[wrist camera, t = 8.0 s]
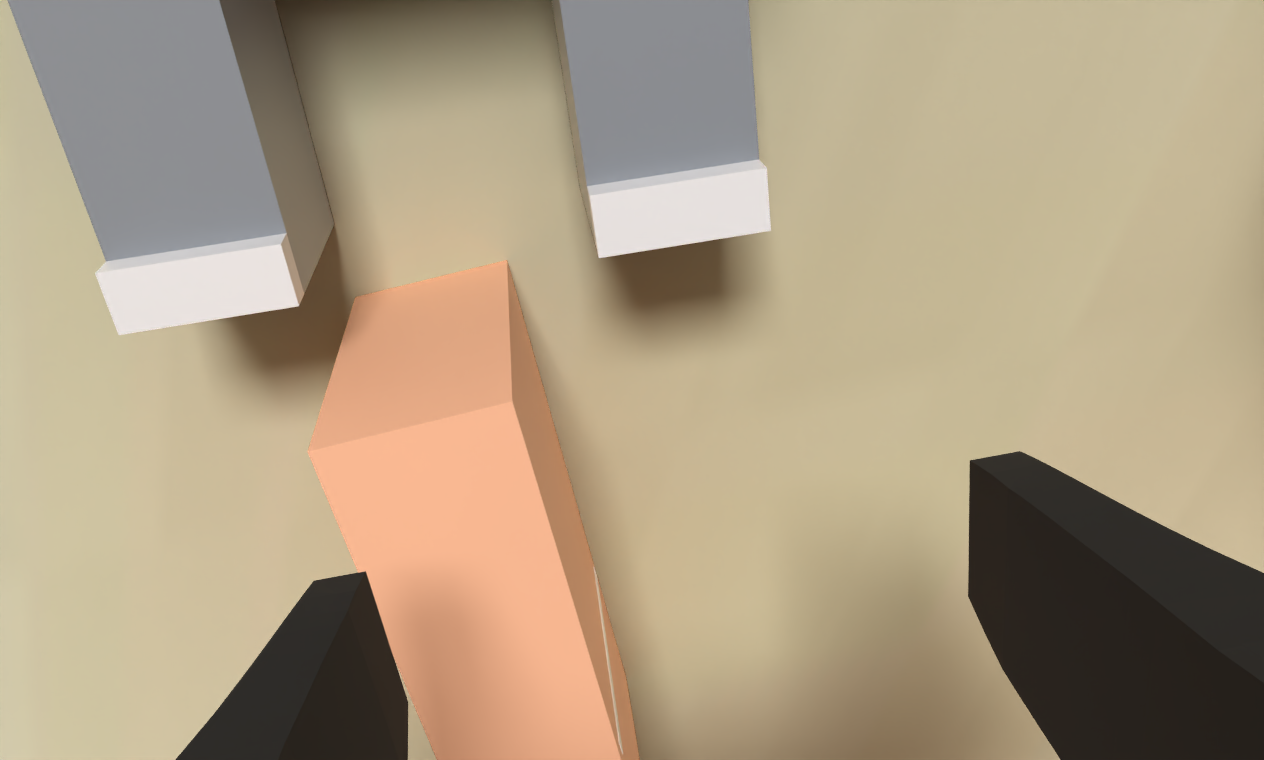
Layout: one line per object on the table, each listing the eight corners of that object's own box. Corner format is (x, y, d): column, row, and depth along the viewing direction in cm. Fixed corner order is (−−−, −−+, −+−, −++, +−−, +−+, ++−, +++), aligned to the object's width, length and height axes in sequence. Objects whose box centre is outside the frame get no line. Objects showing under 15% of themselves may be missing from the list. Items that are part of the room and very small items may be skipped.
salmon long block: (354, 295, 20) (306, 452, 15) (508, 257, 20) (514, 401, 15) (504, 704, 25) (507, 931, 20) (626, 674, 25) (662, 892, 20)
